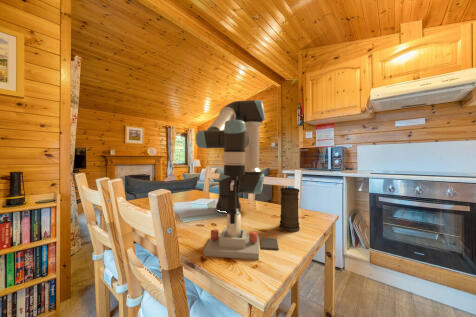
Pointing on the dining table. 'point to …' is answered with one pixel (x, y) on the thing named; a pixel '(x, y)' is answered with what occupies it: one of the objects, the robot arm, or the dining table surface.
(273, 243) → the mat
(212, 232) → the plunger
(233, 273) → the dining table surface
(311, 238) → the dining table surface
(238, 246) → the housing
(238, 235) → the cylinder
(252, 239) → the plunger
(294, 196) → the container
